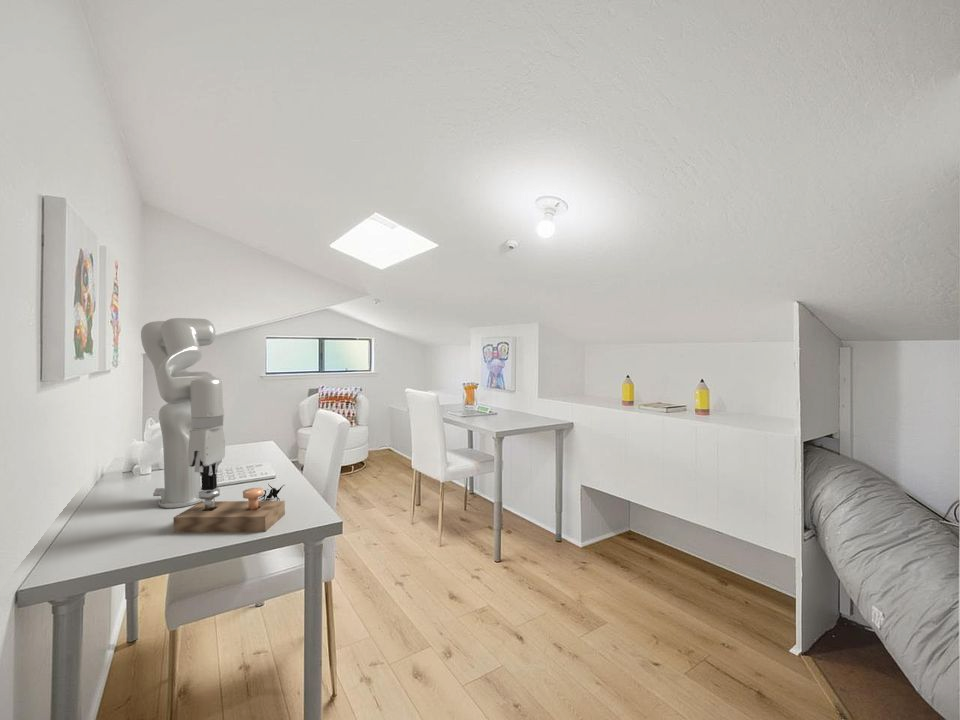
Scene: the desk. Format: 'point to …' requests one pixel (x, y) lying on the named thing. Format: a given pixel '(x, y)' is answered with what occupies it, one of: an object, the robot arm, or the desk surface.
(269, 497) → the creature
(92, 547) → the desk surface
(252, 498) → the terracotta plug
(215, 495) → the grey plug
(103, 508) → the desk surface
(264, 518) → the block
